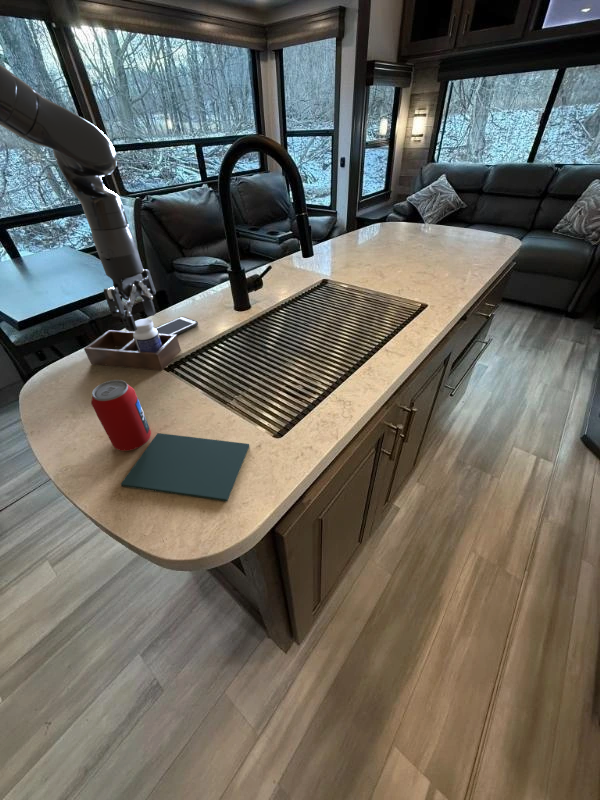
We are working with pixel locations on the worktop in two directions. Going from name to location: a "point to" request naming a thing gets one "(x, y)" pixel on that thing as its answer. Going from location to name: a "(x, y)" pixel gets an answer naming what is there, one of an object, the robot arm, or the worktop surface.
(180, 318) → the cell phone
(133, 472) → the mat
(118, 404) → the beverage can
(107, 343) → the divided tray
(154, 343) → the pill bottle
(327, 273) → the worktop surface
